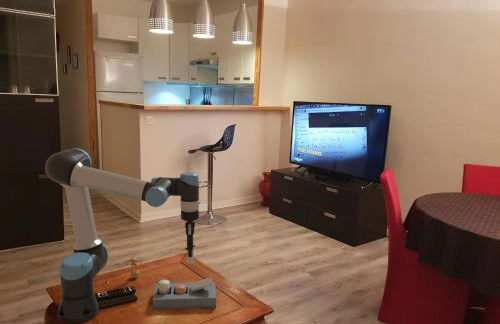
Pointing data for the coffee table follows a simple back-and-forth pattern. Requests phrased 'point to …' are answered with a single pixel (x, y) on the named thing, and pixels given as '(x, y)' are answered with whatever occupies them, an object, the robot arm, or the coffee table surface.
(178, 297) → the grey slotted block
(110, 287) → the coffee table surface
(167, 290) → the button left
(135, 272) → the figurine
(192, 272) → the coffee table surface
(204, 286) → the block
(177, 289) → the button right
